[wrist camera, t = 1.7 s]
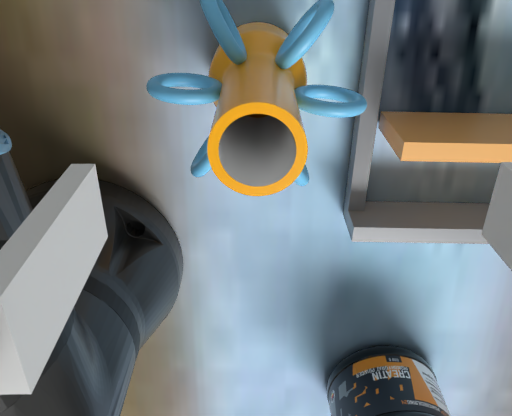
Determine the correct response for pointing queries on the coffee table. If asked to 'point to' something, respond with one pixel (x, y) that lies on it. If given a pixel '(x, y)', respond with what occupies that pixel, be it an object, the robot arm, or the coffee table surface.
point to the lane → (355, 206)
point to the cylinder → (258, 100)
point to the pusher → (448, 136)
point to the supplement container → (384, 385)
